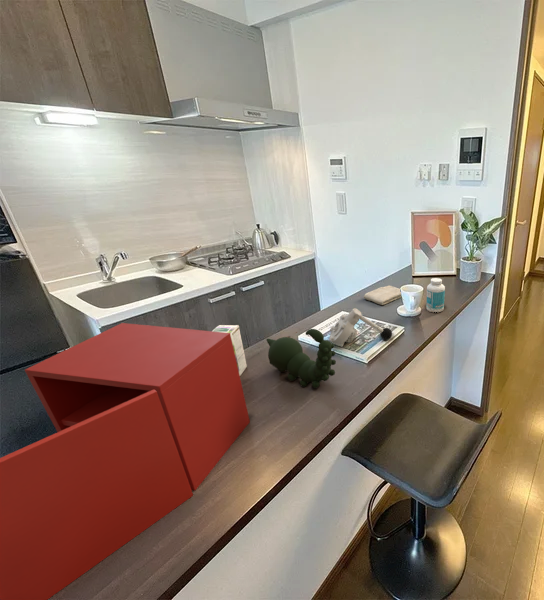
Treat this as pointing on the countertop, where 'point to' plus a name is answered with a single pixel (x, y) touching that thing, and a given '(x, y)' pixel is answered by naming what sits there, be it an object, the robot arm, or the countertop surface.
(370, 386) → the countertop surface
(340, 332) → the mechanical valve
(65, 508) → the door
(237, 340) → the syrup box
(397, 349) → the countertop surface
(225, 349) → the red cupboard
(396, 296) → the washcloth
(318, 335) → the toy figurine
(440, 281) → the pill bottle
